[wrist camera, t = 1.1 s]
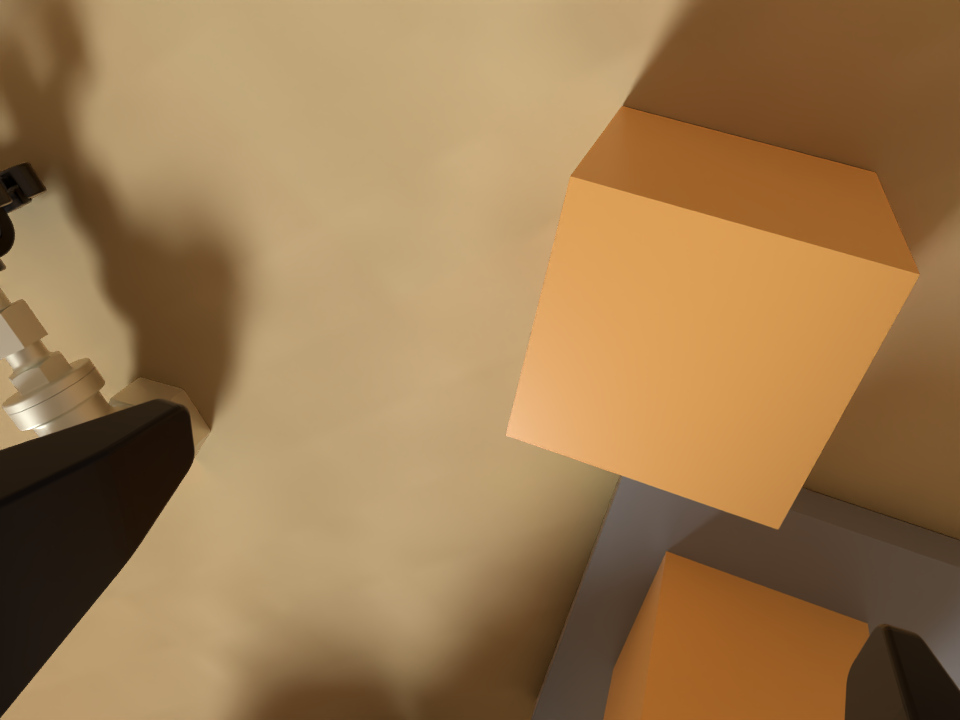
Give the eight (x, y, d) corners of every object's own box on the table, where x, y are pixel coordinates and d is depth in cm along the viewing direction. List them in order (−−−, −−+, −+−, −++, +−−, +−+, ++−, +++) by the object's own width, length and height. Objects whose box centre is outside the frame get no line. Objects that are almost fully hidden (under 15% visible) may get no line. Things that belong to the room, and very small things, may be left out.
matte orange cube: (775, 383, 21) (778, 529, 16) (564, 316, 22) (505, 435, 17) (875, 172, 17) (920, 274, 12) (622, 105, 18) (570, 175, 13)
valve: (259, 446, 28) (70, 142, 24) (141, 571, 23) (-128, 208, 19) (143, 473, 31) (-44, 207, 27) (14, 590, 26) (-244, 281, 22)
